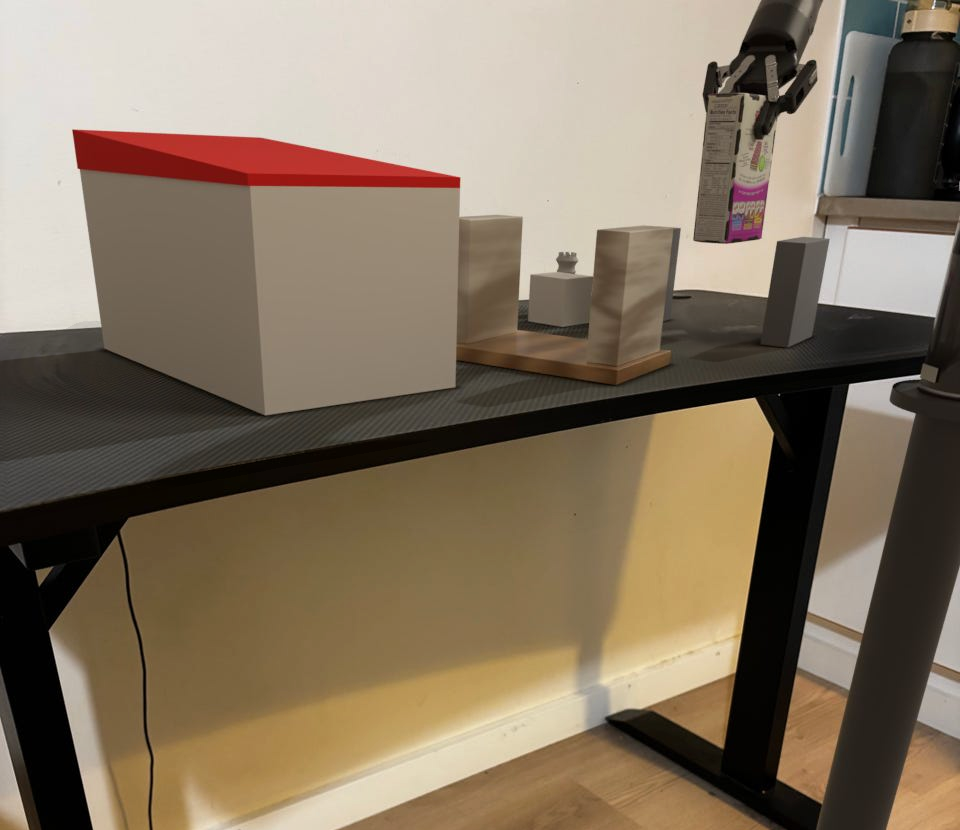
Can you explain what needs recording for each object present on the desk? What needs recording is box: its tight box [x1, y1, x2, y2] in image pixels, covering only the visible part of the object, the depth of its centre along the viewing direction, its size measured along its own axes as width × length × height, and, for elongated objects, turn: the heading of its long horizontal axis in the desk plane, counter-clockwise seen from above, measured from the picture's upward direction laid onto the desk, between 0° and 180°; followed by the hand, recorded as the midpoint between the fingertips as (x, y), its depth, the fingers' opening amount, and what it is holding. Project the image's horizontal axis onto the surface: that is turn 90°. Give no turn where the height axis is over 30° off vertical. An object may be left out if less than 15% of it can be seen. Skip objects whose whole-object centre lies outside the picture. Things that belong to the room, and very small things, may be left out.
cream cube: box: [527, 271, 593, 328], centre depth 130 cm, size 6×6×6 cm
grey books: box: [658, 225, 830, 349], centre depth 126 cm, size 24×11×12 cm, turn 58°
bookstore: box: [71, 128, 461, 416], centre depth 93 cm, size 21×35×21 cm, turn 41°
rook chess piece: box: [555, 251, 579, 274], centre depth 138 cm, size 4×4×8 cm
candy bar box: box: [692, 92, 778, 245], centre depth 120 cm, size 11×5×16 cm, turn 143°
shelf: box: [456, 214, 674, 386], centre depth 103 cm, size 23×14×14 cm, turn 58°
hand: (735, 133), depth 117 cm, fingers closed on candy bar box, 5 cm apart
